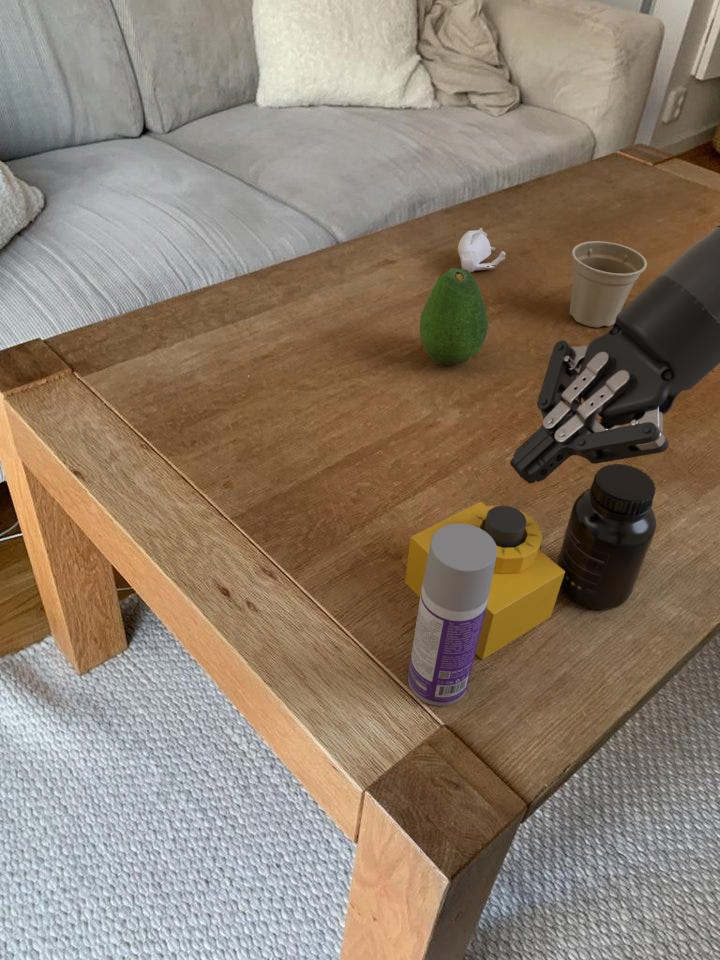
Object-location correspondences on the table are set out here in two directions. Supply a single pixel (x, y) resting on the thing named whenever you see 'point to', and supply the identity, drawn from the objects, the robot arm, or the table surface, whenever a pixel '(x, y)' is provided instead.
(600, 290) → the flower pot
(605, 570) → the supplement bottle
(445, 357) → the fruit
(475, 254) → the figurine
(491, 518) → the dark grey push button
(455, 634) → the container
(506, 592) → the yellow knob cube
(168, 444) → the table surface
